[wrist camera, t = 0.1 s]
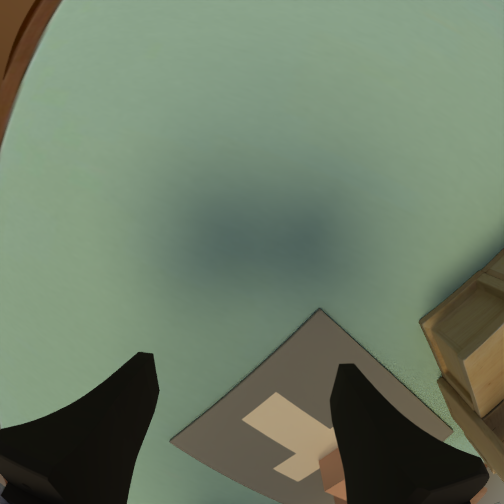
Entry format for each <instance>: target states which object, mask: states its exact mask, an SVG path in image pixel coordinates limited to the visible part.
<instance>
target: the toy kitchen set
mask: <svg viewBox="0 0 504 504" xmlns="http://www.w3.org/2000/svg"><path fill="white" fill-rule="evenodd" d="M419 324H420V326H421V328H422V330H423V332H424V335H425V337H426V339H427V341H428V343H429V346H430V348H431V350H432V352H433V355H434V357H435V359H436V361H437V364H438V366H439V368H440V371H441V373H442V377H441V378H439V379H438V380H437V383H438V385H439V388H440V390H441V392H442V395H443V397H444V399H445V402H446V404H447V406H448V409H449V411H450V414H451V416H452V418H453V419H454V420H455V422H456V423H457V424H458V425H459V426H460V428H461V429H462V430H463V431H464V434H465V436H466V438H467V439H468V440H469V442H470V443H471V444H472V446H473V447H474V448H475V450H476V451H477V452H478V454H479V455H480V456H481V458H482V459H483V460H484V462H485V463H486V464H487V465H488V467H489V468H490V470H491V471H492V472H493V474H495V473H497V474H498V476H499V477H500V478H501V479H502V481H503V482H504V248H503V249H502V250H501V251H500V252H499V253H498V254H497V255H496V256H495V257H494V258H493V259H492V260H491V261H490V262H489V263H488V264H487V265H486V266H485V267H484V268H483V269H482V270H481V271H478V272H476V273H475V274H474V275H473V276H472V277H471V278H470V279H469V280H468V281H466V282H465V283H464V284H463V285H462V286H461V287H460V288H458V289H457V290H456V291H455V292H454V293H453V294H451V295H450V296H449V297H448V298H447V299H446V300H444V301H443V302H442V303H441V304H439V305H438V306H437V307H436V308H435V309H433V310H432V311H431V312H429V313H428V314H427V315H426V316H424V317H423V318H422V319H420V320H419Z"/></svg>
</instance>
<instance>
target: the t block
mask: <svg viewBox="0 0 504 504" xmlns="http://www.w3.org/2000/svg"><path fill="white" fill-rule="evenodd" d="M319 466H320V471H321V476H322V481H323V486H324V491H325V492H327V493H329V494H331V495H333V496H334V500H335V504H347V497H346V486H345V476H344V470H343V465H342V461H341V457H340V452H339V448H336V449H335V450H334V451H332V452H331V453H329V454H328V455H326V456H325V457H324V458H322V459H321V460H319Z"/></svg>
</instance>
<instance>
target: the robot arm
mask: <svg viewBox="0 0 504 504" xmlns="http://www.w3.org/2000/svg"><path fill="white" fill-rule="evenodd" d="M159 391H160V390H159V385H158V379H157V374H156V368H155V362H154V356H153V354H152V353H144V352H138V353H137V354H136V355H134V356H133V357H132V358H131V359H130V360H129V361H127V362H126V363H125V364H124V365H123V366H122V367H121V368H119V369H118V370H117V371H116V372H115V373H113V374H112V375H111V376H110V377H109V378H107V379H106V380H105V381H104V382H102V383H101V384H100V385H98V386H97V387H96V388H94V389H93V390H92V391H90V392H89V393H88V394H86V395H85V396H83V397H81V398H80V399H78V400H77V401H75V402H73V403H71V404H70V405H68V406H66V407H64V408H62V409H60V410H58V411H56V412H54V413H51V414H49V415H47V416H45V417H42V418H39V419H37V420H34V421H31V422H28V423H24V424H21V425H17V426H12V427H8V428H3V429H1V430H0V474H1V475H2V476H3V477H4V478H5V479H6V480H7V481H8V483H7V485H6V487H4V486H3V485H2V484H1V483H0V504H127V499H128V494H129V489H130V484H131V479H132V475H133V470H134V466H135V462H136V459H137V456H138V453H139V450H140V448H141V445H142V443H143V440H144V437H145V435H146V432H147V430H148V427H149V425H150V422H151V420H152V417H153V414H154V412H155V408H156V404H157V400H158V395H159ZM330 410H331V418H332V424H333V428H334V432H335V436H336V440H337V444H338V448H339V452H340V457H341V461H342V465H343V470H344V476H345V486H346V497H347V504H471V503H470V500H471V499H472V498H473V497H474V496H475V495H476V494H477V493H478V492H479V491H480V490H481V489H482V488H483V487H484V486H485V484H486V483H487V481H488V479H489V473H488V471H487V469H486V467H485V465H484V463H483V461H482V459H481V458H480V457H477V456H475V455H472V454H469V453H466V452H464V451H461V450H459V449H456V448H454V447H452V446H450V445H448V444H446V443H444V442H442V441H440V440H438V439H437V438H435V437H433V436H432V435H430V434H429V433H427V432H425V431H424V430H422V429H421V428H419V427H418V426H417V425H415V424H414V423H413V422H411V421H410V420H409V419H408V418H406V417H405V416H404V415H403V414H402V413H400V412H399V411H398V410H397V409H396V408H395V407H394V406H393V405H392V404H391V403H390V402H389V401H388V400H387V399H386V398H385V397H384V396H383V395H382V394H381V393H380V392H379V391H378V390H377V389H376V388H375V387H374V386H373V385H372V383H371V382H370V381H369V380H368V379H367V378H366V377H365V375H364V374H363V373H362V372H361V371H360V370H359V369H358V367H357V366H356V365H355V364H354V363H347V364H339V366H338V370H337V374H336V378H335V382H334V385H333V389H332V393H331V396H330ZM495 504H500V503H499V502H498V503H495Z"/></svg>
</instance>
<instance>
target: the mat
mask: <svg viewBox="0 0 504 504" xmlns="http://www.w3.org/2000/svg"><path fill="white" fill-rule="evenodd" d="M347 363H354V364H355V365H356V366H357V367H358V369H359V370H360V371H361V372H362V373H363V374H364V375H365V377H366V378H367V379H368V380H369V381H370V382H371V383H372V385H373V386H374V387H375V388H376V389H377V390H378V391H379V392H380V393H381V394H382V395H383V396H384V397H385V398H386V399H387V400H388V401H389V402H390V403H391V404H392V405H393V406H394V407H395V408H396V409H397V410H398V411H399V412H400V413H402V414H403V415H404V416H405V417H406V418H408V419H409V420H410V421H411V422H413V423H414V424H415V425H417V426H418V427H419V428H421V429H422V430H424V431H425V432H427V433H429V434H430V435H432V436H433V437H435V438H437V439H438V440H440V441H442V442H443V441H444V440H445V439H447V438H448V437H449V436H450V435H451V434H452V433H453V432H454V431H453V430H452V429H451V428H450V427H449V426H448V425H446V424H445V423H444V422H443V421H442V420H441V419H440V418H439V417H438V416H437V415H436V414H435V413H433V412H432V411H431V410H430V409H429V408H428V407H427V406H426V405H425V404H424V403H423V402H421V401H420V400H419V399H418V398H417V397H416V396H415V395H414V394H413V393H412V392H411V391H410V390H408V389H407V388H406V387H405V386H404V385H403V384H402V383H401V382H400V381H399V380H398V379H396V378H395V377H394V376H393V375H392V374H391V373H390V372H389V371H388V370H387V369H386V368H384V367H383V366H382V365H381V364H380V363H379V362H378V361H377V360H376V359H375V358H373V357H372V356H371V355H370V354H369V353H368V352H367V351H366V350H365V349H364V348H363V347H361V346H360V345H359V344H358V343H357V342H356V341H355V340H354V339H353V338H352V337H351V336H349V335H348V334H347V333H346V332H345V331H344V330H343V329H342V328H341V327H340V326H338V325H337V324H336V323H335V322H334V321H333V320H332V319H331V318H330V317H329V316H327V315H326V314H325V313H324V312H323V311H322V310H321V309H320V308H319V309H318V310H317V311H316V312H315V313H314V314H313V315H312V316H311V317H310V318H309V319H308V320H307V321H306V322H305V323H304V324H303V325H302V326H301V327H300V328H299V329H298V330H297V331H296V332H295V333H294V334H293V335H292V336H291V337H290V338H288V339H287V340H286V341H285V342H284V343H283V344H282V345H281V346H280V347H279V348H278V349H277V350H276V351H275V352H274V353H272V354H271V355H270V356H269V357H268V358H267V359H266V360H265V361H264V362H263V363H262V364H260V365H259V366H258V367H257V368H256V369H255V370H254V371H253V372H252V373H250V374H249V375H248V376H247V377H246V378H245V379H244V380H242V381H241V382H240V383H239V384H238V385H237V386H236V387H234V388H233V389H232V390H231V391H230V392H229V393H227V394H226V395H225V396H224V397H223V398H222V399H220V400H219V401H218V402H217V403H216V404H214V405H213V406H212V407H211V408H210V409H208V410H207V411H206V412H205V413H203V414H202V415H201V416H200V417H199V418H197V419H196V420H195V421H194V422H192V423H191V424H190V425H189V426H187V427H186V428H185V429H184V430H182V431H181V432H180V433H178V434H177V435H176V436H175V437H173V438H172V439H171V440H170V441H169V442H170V443H172V444H173V445H175V446H176V447H178V448H179V449H181V450H182V451H184V452H185V453H187V454H189V455H190V456H192V457H194V458H195V459H197V460H198V461H200V462H202V463H203V464H205V465H207V466H209V467H210V468H212V469H214V470H216V471H217V472H219V473H221V474H223V475H225V476H227V477H228V478H230V479H232V480H234V481H236V482H238V483H240V484H242V485H244V486H246V487H248V488H250V489H252V490H254V491H256V492H258V493H260V494H262V495H264V496H267V497H269V498H271V499H273V500H275V501H278V502H280V503H282V504H335V500H334V496H333V495H331V494H329V493H327V492H325V491H324V486H323V481H322V476H321V471H320V466H319V460H321V459H322V458H324V457H325V456H326V455H328V454H329V453H331V452H332V451H334V450H335V449H336V448H338V444H337V440H336V436H335V432H334V428H333V424H332V418H331V410H330V396H331V393H332V389H333V385H334V382H335V378H336V374H337V370H338V366H339V364H347Z"/></svg>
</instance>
